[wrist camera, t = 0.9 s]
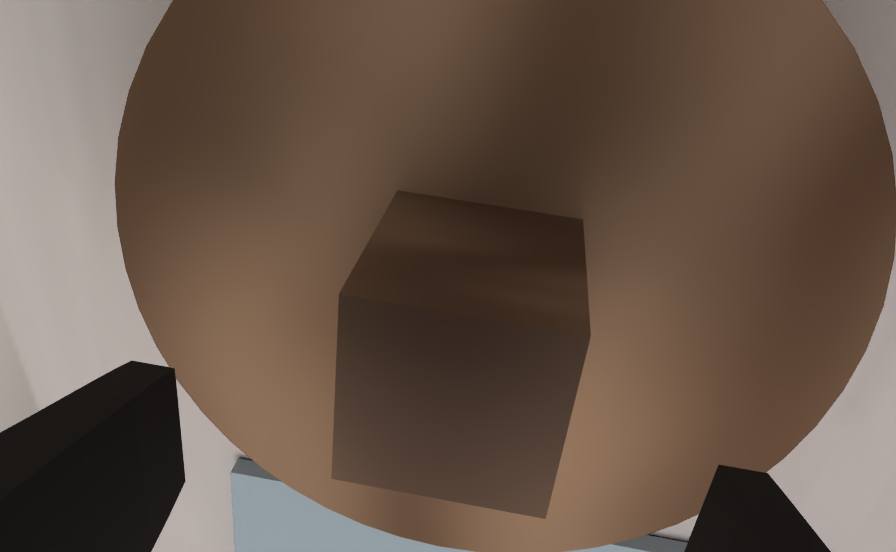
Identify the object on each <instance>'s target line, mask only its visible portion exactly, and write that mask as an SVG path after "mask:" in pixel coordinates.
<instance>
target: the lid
mask: <svg viewBox="0 0 896 552" xmlns="http://www.w3.org/2000/svg"><path fill="white" fill-rule="evenodd" d="M115 194H116V211H117V227H118V232H119V237H120V242H121V247H122V252H123V258H124V263H125V268H126V271H127V274H128V277H129V280H130V283H131V286H132V289H133V292H134V296H135V299H136V302H137V305H138V308H139V310H140V312H141V314H142V316H143V319H144V321H145V323H146V325H147V327H148V329H149V331H150V334H151V336H152V338H153V340H154V342H155V344H156V346H157V348H158V349H159V351H160V353H161V354H162V356H163V358H164V359H165V361H166V362H167V364H168V366H169V367H170V368H175V376H176V379H177V380H178V382H179V383H180V384H181V385H182V387H183V388H184V389H185V391H186V392H187V393H188V394H189V396H190V397H191V398H192V400H193V401H194V402H195V403H196V405H197V406H198V407H199V409H200V410H201V411H202V412H203V413H204V414H205V415H206V417H207V418H208V419H209V420H210V421H211V422H212V423H213V424H214V425H215V426H216V427H217V428H218V429H219V430H220V431H221V432H222V433H223V434H224V435H225V436H226V437H227V438H228V439H229V440H230V441H231V442H232V443H233V444H234V445H235V446H237V447H238V448H239V449H240V450H241V451H242V452H244V453H245V454H246V455H247V456H248V457H249V458H251V459H252V460H253V461H254V462H255V463H257V464H258V465H259V466H260V467H261V468H263V469H264V470H266V471H267V472H269V473H270V474H272V475H273V476H274V477H276V478H277V479H279V480H280V481H282V482H283V483H285V484H286V485H287V486H289V487H290V488H292V489H293V490H295V491H297V492H299V493H300V494H302V495H304V496H306V497H308V498H309V499H311V500H313V501H315V502H316V503H318V504H320V505H322V506H324V507H325V508H327V509H329V510H332V511H334V512H336V513H338V514H341V515H343V516H345V517H347V518H350V519H352V520H354V521H356V522H359V523H361V524H363V525H366V526H369V527H372V528H375V529H378V530H381V531H384V532H387V533H390V534H393V535H396V536H399V537H402V538H406V539H410V540H414V541H419V542H423V543H427V544H431V545H435V546H440V547H447V548H454V549H460V550H467V551H474V552H566V551H573V550H581V549H588V548H595V547H601V546H605V545H609V544H613V543H618V542H622V541H626V540H630V539H635V538H638V537H641V536H644V535H647V534H650V533H653V532H656V531H659V530H661V529H664V528H667V527H670V526H673V525H676V524H678V523H680V522H682V521H685V520H687V519H689V518H691V517H693V516H695V515H697V514H699V513H700V510H701V508H702V505H703V503H704V500H705V498H706V495H707V493H708V490H709V487H710V485H711V482H712V480H713V477H714V475H715V472H716V470H717V467H718V464H719V465H724V466H730V467H736V468H741V469H747V470H753V471H758V472H764V473H766V472H767V471H768V470H770V469H771V468H772V467H773V466H775V465H776V464H777V463H779V462H780V461H781V460H782V459H784V458H785V457H786V456H787V455H788V454H789V453H790V452H791V451H792V450H793V449H794V448H795V447H796V446H797V445H798V444H799V443H800V442H801V441H802V440H803V439H804V438H805V437H806V436H807V435H808V434H809V433H810V432H811V431H812V430H813V429H814V428H815V427H816V426H817V424H818V423H819V422H820V420H821V419H822V418H823V416H824V415H825V414H826V412H827V411H828V410H829V409H830V407H831V406H832V405H833V403H834V402H835V401H836V399H837V398H838V397H839V395H840V394H841V393H842V392H843V390H844V388H845V387H846V385H847V383H848V381H849V380H850V378H851V376H852V374H853V372H854V371H855V369H856V367H857V365H858V364H859V362H860V360H861V358H862V357H863V355H864V353H865V351H866V349H867V347H868V344H869V342H870V339H871V336H872V334H873V331H874V329H875V326H876V324H877V321H878V318H879V316H880V313H881V311H882V308H883V305H884V301H885V297H886V292H887V288H888V283H889V279H890V274H891V270H892V265H893V261H894V253H895V237H896V187H895V177H894V166H893V156H892V151H891V147H890V144H889V140H888V136H887V132H886V129H885V125H884V121H883V117H882V113H881V110H880V106H879V102H878V100H877V97H876V95H875V93H874V91H873V88H872V86H871V84H870V82H869V80H868V77H867V75H866V73H865V71H864V68H863V66H862V64H861V62H860V60H859V57H858V55H857V53H856V51H855V49H854V47H853V46H852V44H851V43H850V41H849V40H848V38H847V37H846V35H845V33H844V32H843V30H842V29H841V27H840V26H839V24H838V23H837V21H836V20H835V18H834V17H833V15H832V14H831V12H830V11H829V9H828V8H827V6H826V5H825V3H824V2H823V0H173V1H172V3H171V5H170V6H169V8H168V10H167V12H166V13H165V15H164V17H163V19H162V20H161V22H160V24H159V25H158V27H157V29H156V31H155V32H154V34H153V36H152V37H151V39H150V41H149V43H148V44H147V46H146V49H145V51H144V54H143V56H142V59H141V62H140V64H139V67H138V69H137V72H136V74H135V77H134V79H133V82H132V85H131V87H130V90H129V93H128V97H127V102H126V106H125V110H124V115H123V119H122V124H121V128H120V132H119V137H118V149H117V161H116V174H115Z"/></svg>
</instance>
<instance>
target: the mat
mask: <svg viewBox="0 0 896 552" xmlns="http://www.w3.org/2000/svg"><path fill="white" fill-rule="evenodd" d="M231 487H232V506H233V525H234V544H235V552H474V551H467V550H460V549H454V548H447V547H440V546H435V545H431V544H427V543H423V542H419V541H414V540H410V539H406V538H402V537H399V536H396V535H393V534H390V533H387V532H384V531H381V530H378V529H375V528H372V527H369V526H366V525H363V524H361V523H359V522H356V521H354V520H352V519H350V518H347V517H345V516H343V515H341V514H338V513H336V512H334V511H332V510H329V509H327V508H325V507H324V506H322V505H320V504H318V503H316V502H315V501H313V500H311V499H309V498H308V497H306V496H304V495H302V494H300V493H299V492H297V491H295V490H293V489H292V488H290V487H289V486H287V485H286V484H285V483H283V482H282V481H280V480H279V479H277V478H276V477H274V476H273V475H272V474H270V473H269V472H267V471H266V470H264V469H263V468H261V467H260V466H259V465H258V464H257V463H255V462H254V461H251V460H245V459H240V458H239V459H238V460H237V462H236V464H235V466H234V467H233V469H232V471H231ZM687 544H688V543H687V542H682V541H677V540H671V539H666V538H661V537H655V536H650V535H644V536H641V537H638V538H635V539H630V540H626V541H622V542H618V543H613V544H609V545H605V546H601V547H595V548H588V549H581V550H573V551H566V552H684V551H685V549H686V546H687Z"/></svg>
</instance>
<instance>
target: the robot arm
mask: <svg viewBox="0 0 896 552" xmlns="http://www.w3.org/2000/svg"><path fill="white" fill-rule="evenodd" d="M184 483H185V472H184V461H183V451H182V440H181V429H180V419H179V408H178V397H177V387H176V376H175V368H170V367H164V366H159V365H153V364H147V363H142V362H136V361H130V362H128V363H126V364H124V365H122V366H120V367H118V368H116V369H114V370H112V371H110V372H109V373H107V374H105V375H103V376H101V377H99V378H98V379H96V380H94V381H92V382H90V383H89V384H87V385H85V386H83V387H81V388H80V389H78V390H76V391H74V392H72V393H71V394H69V395H67V396H65V397H64V398H62V399H60V400H58V401H56V402H55V403H53V404H51V405H49V406H48V407H46V408H44V409H42V410H40V411H39V412H37V413H35V414H33V415H31V416H30V417H28V418H26V419H24V420H22V421H21V422H19V423H17V424H15V425H13V426H12V427H10V428H8V429H6V430H4V431H2V432H1V433H0V552H151V551H152V549H153V547H154V545H155V543H156V541H157V539H158V537H159V535H160V533H161V531H162V529H163V527H164V525H165V523H166V521H167V519H168V517H169V515H170V513H171V511H172V508H173V506H174V504H175V502H176V500H177V498H178V496H179V493H180V491H181V489H182V487H183V485H184ZM684 552H831V551H830V550H829V549H828V548H827V546H826V545H825V544H824V543H823V541H822V540H821V539H820V538H819V536H818V535H817V534H816V533H815V531H814V530H813V529H812V528H811V526H810V525H809V524H808V523H807V521H806V520H805V519H804V518H803V516H802V515H801V514H800V512H799V511H798V510H797V509H796V507H795V506H794V505H793V504H792V502H791V501H790V500H789V499H788V497H787V496H786V495H785V494H784V492H783V491H782V490H781V489H780V488H779V486H778V485H777V484H776V483H775V482H774V480H773V479H772V478H771V477H770V476H769V474H768V473H764V472H758V471H753V470H747V469H741V468H736V467H730V466H724V465H719V464H718V467H717V470H716V472H715V475H714V477H713V480H712V482H711V485H710V487H709V490H708V493H707V495H706V498H705V500H704V503H703V505H702V508H701V510H700V513H699V516H698V518H697V521H696V523H695V526H694V528H693V531H692V533H691V536H690V538H689V541H688V544H687V546H686V549H685V551H684Z"/></svg>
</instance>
